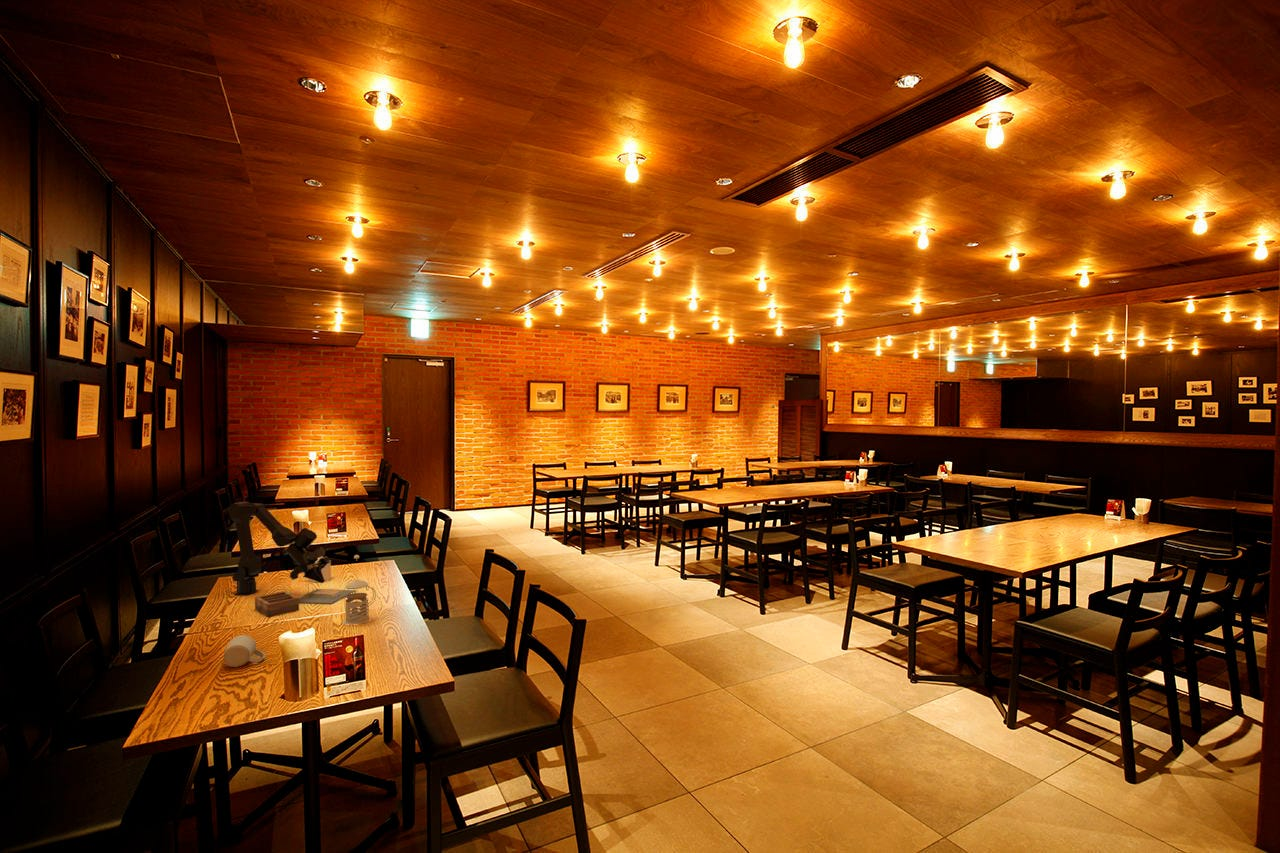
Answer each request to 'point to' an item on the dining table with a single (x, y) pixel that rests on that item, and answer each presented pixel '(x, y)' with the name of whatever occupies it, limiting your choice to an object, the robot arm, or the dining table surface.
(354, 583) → the french press
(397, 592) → the dining table surface
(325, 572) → the teacup with lid
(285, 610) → the slot box
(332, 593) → the wooden block
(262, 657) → the ceramic mug
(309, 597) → the rubber mat
